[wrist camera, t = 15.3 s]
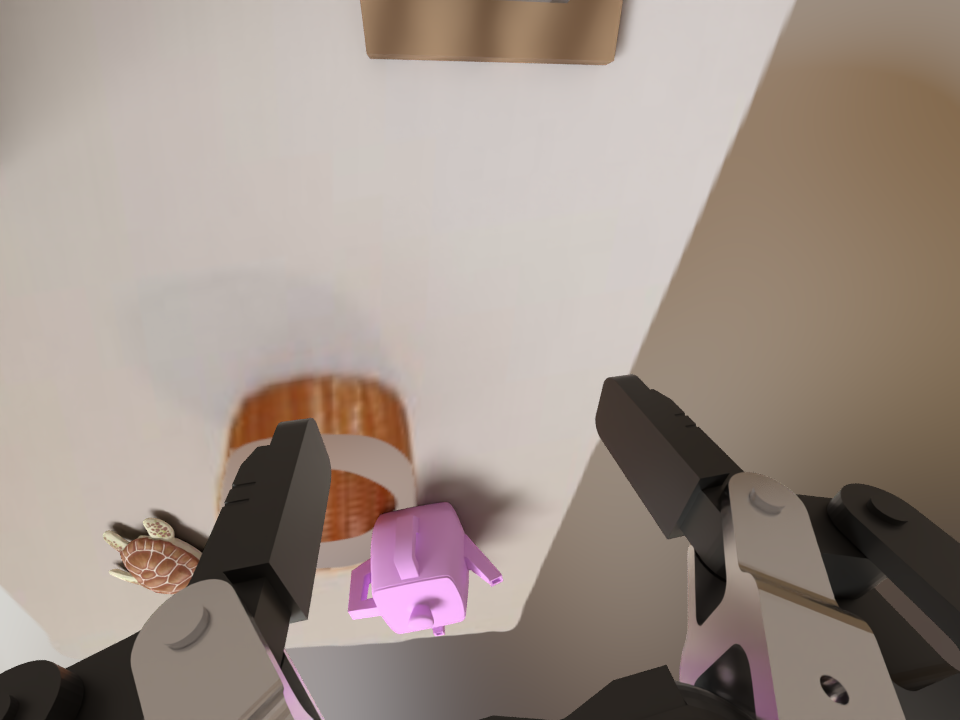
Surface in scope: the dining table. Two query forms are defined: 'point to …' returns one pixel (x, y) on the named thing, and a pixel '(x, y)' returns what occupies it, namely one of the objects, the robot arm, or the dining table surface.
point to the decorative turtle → (155, 558)
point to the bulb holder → (493, 30)
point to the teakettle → (418, 570)
